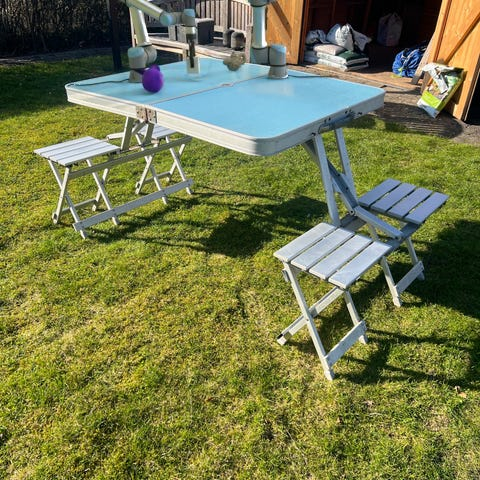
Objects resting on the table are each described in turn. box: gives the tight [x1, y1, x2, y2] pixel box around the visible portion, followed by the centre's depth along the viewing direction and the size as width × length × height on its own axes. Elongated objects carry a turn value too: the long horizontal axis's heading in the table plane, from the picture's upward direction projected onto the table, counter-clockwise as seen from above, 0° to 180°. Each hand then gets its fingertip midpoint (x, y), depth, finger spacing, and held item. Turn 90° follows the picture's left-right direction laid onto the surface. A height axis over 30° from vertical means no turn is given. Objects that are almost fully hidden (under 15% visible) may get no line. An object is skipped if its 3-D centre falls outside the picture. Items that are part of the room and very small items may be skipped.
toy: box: [134, 64, 165, 94], centre depth 304 cm, size 16×18×27 cm
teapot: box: [222, 50, 247, 72], centre depth 365 cm, size 21×12×15 cm, turn 120°
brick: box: [185, 56, 201, 75], centre depth 332 cm, size 8×9×11 cm
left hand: (193, 66), depth 332 cm, fingers closed on brick, 8 cm apart
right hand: (265, 29), depth 360 cm, fingers open, 13 cm apart
